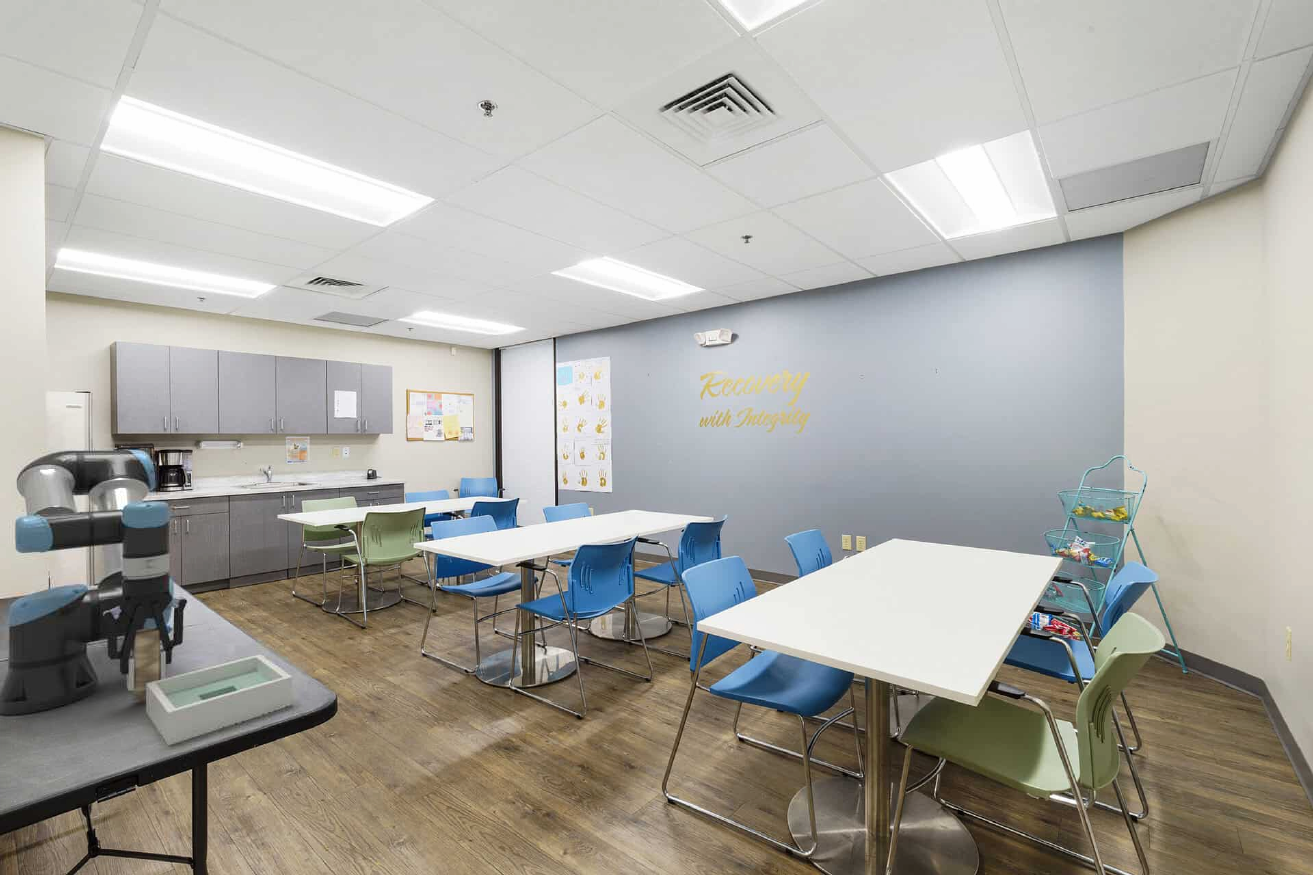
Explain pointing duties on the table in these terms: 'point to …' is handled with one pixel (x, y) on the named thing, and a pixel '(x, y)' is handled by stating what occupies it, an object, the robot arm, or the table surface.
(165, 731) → the bore box
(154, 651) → the peg
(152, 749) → the table surface
